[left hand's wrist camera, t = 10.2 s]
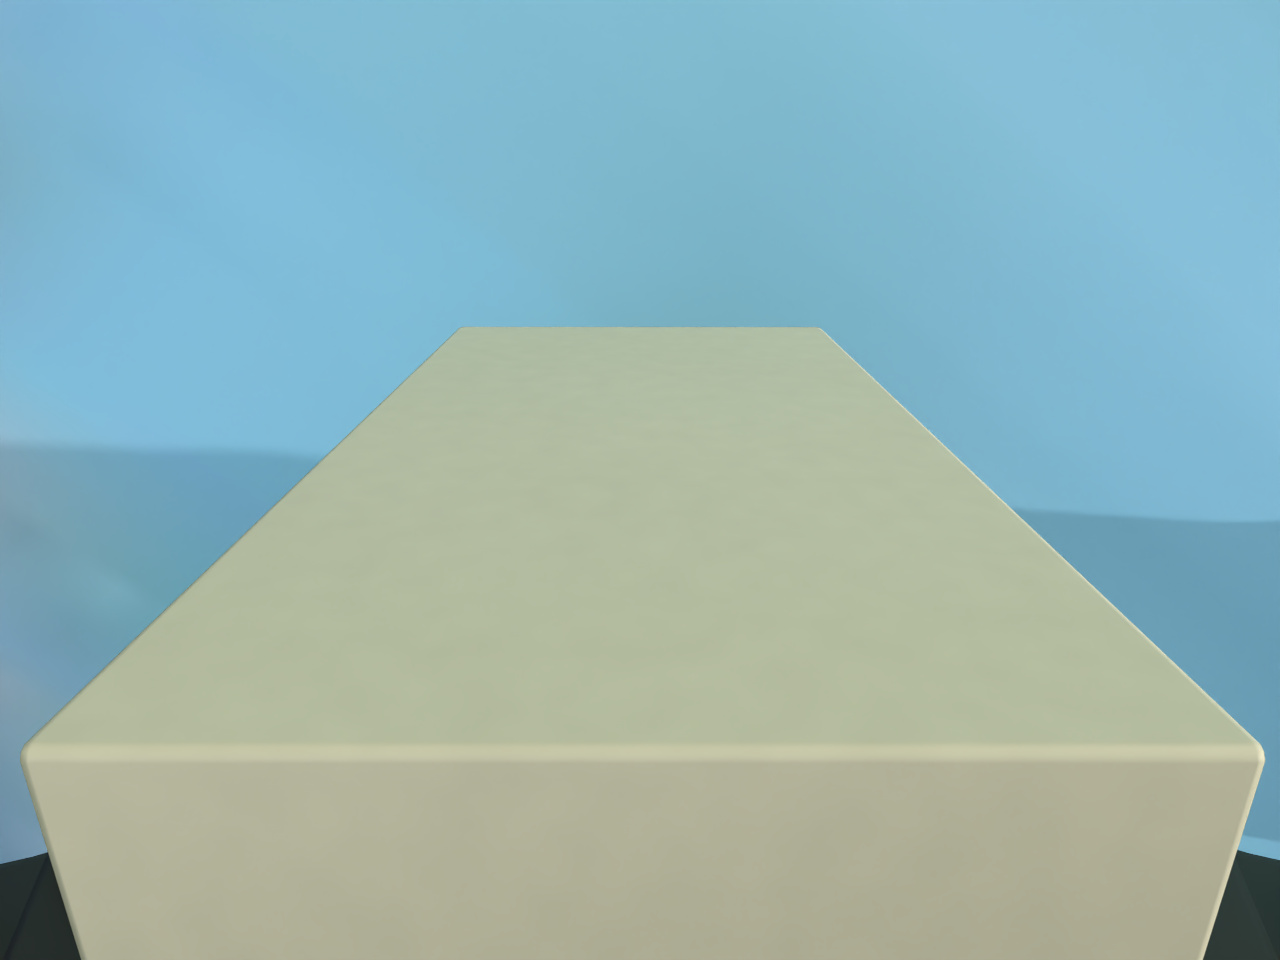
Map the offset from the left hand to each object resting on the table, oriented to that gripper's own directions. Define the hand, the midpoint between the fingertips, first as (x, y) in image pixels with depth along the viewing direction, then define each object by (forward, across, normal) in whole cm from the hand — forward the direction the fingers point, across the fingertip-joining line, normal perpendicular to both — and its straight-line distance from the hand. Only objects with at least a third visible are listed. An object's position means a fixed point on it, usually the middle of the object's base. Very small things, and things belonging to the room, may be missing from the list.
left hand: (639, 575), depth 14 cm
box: (+2, 0, -9) cm, 9 cm away
